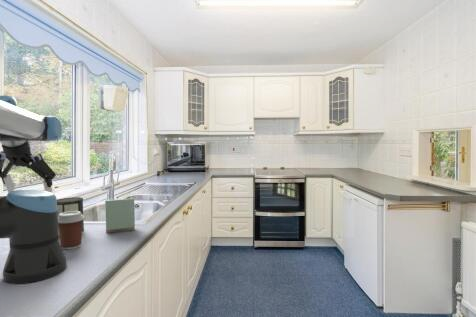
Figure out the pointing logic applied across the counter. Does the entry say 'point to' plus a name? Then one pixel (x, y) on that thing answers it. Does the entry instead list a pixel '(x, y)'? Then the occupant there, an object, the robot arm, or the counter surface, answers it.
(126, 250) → the counter surface
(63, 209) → the coffee can
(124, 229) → the brown rectangular block
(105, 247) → the counter surface
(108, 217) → the green square panel
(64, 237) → the coffee cup
